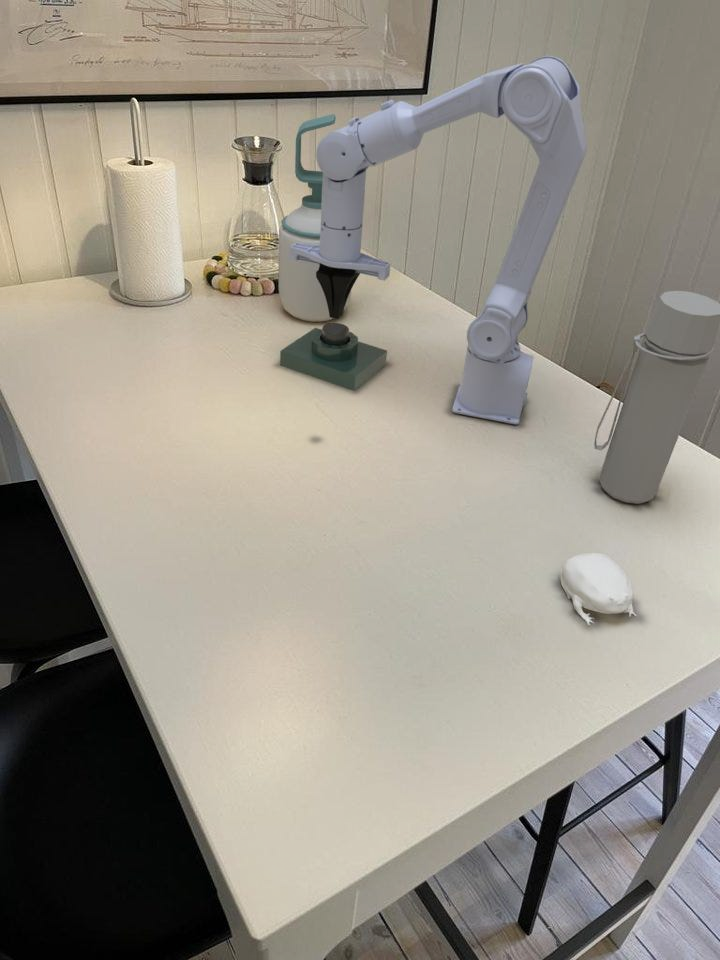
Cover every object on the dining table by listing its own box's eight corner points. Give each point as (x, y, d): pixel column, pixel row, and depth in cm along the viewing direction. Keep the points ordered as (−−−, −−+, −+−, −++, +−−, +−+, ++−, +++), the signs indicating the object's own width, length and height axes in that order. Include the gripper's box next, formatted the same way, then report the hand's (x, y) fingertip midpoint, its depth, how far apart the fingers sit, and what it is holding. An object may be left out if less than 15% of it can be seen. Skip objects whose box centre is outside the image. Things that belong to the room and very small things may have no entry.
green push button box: (385, 364, 117) (388, 338, 114) (354, 391, 110) (356, 363, 107) (314, 341, 121) (315, 315, 119) (279, 365, 114) (280, 338, 112)
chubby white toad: (643, 618, 77) (655, 592, 75) (585, 630, 75) (595, 603, 73) (602, 565, 83) (611, 540, 81) (548, 574, 81) (556, 549, 79)
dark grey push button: (352, 339, 114) (353, 327, 113) (339, 349, 111) (340, 337, 110) (330, 332, 115) (331, 320, 114) (316, 342, 112) (317, 329, 111)
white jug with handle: (348, 329, 126) (362, 128, 107) (274, 324, 125) (275, 121, 107) (350, 299, 136) (363, 110, 117) (281, 294, 135) (283, 104, 117)
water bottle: (656, 479, 97) (726, 296, 82) (655, 514, 91) (730, 324, 76) (584, 462, 99) (640, 280, 84) (578, 495, 93) (637, 306, 78)
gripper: (401, 224, 104) (391, 316, 112) (305, 205, 107) (302, 295, 115) (383, 240, 98) (375, 334, 106) (283, 219, 102) (282, 312, 110)
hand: (336, 315), depth 111 cm, fingers closed
